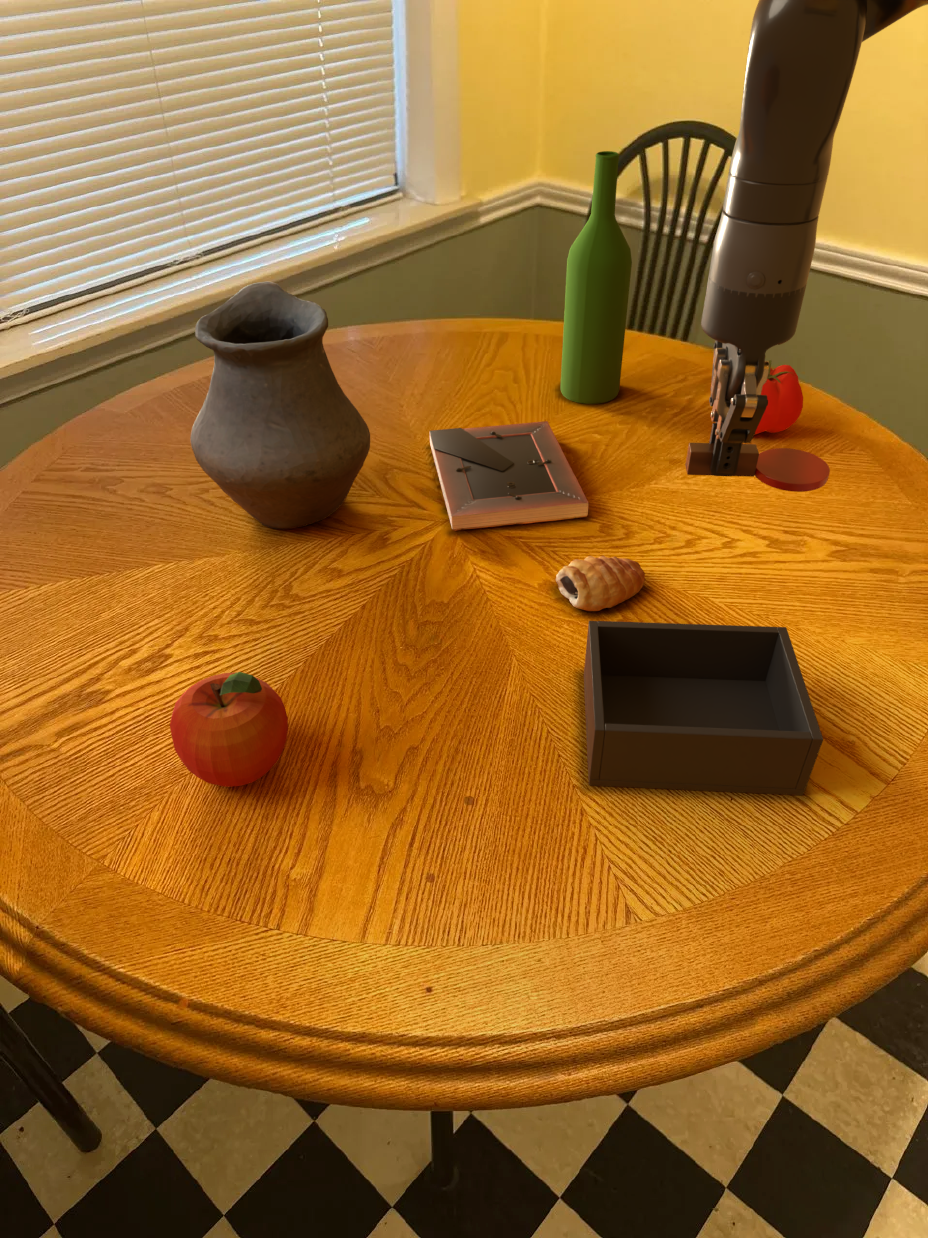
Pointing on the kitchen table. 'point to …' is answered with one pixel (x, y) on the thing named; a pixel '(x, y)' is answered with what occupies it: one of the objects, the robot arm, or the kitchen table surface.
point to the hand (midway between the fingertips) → (720, 466)
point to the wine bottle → (596, 296)
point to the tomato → (781, 399)
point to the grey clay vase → (276, 410)
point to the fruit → (229, 729)
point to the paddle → (766, 466)
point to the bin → (697, 708)
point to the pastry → (600, 582)
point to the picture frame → (505, 476)
